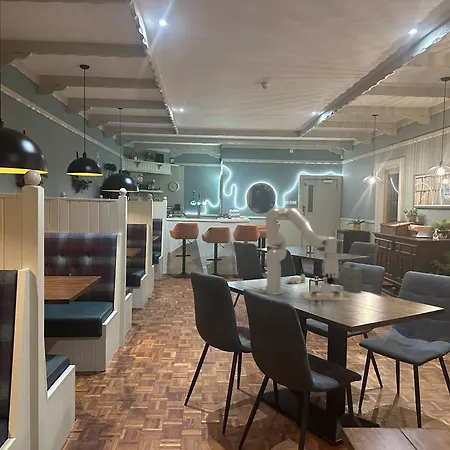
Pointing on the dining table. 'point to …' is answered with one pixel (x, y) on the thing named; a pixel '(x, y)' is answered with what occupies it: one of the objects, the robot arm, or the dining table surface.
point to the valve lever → (333, 281)
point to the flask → (352, 279)
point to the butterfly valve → (296, 279)
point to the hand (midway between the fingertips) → (329, 283)
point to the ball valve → (325, 292)
